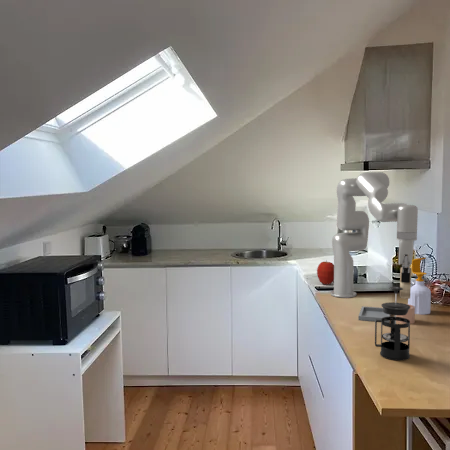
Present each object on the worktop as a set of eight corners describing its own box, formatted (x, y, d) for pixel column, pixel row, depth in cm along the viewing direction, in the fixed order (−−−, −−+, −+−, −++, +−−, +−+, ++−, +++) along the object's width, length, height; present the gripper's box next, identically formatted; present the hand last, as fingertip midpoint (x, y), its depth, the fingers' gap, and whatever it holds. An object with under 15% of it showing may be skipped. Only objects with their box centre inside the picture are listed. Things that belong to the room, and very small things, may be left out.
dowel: (399, 295, 199) (400, 267, 197) (410, 296, 197) (411, 267, 196) (399, 298, 195) (400, 268, 194) (410, 299, 193) (411, 269, 192)
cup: (396, 320, 201) (396, 303, 200) (414, 321, 199) (414, 304, 198) (396, 324, 195) (396, 307, 194) (414, 326, 192) (414, 309, 191)
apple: (316, 285, 267) (316, 260, 266) (318, 282, 277) (318, 257, 276) (335, 286, 264) (335, 261, 263) (336, 282, 274) (336, 258, 273)
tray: (361, 311, 214) (361, 306, 214) (390, 314, 210) (390, 308, 210) (358, 322, 199) (358, 316, 199) (389, 324, 195) (389, 318, 195)
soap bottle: (416, 317, 205) (418, 259, 203) (403, 311, 214) (404, 256, 211) (435, 315, 207) (436, 258, 205) (421, 309, 216) (422, 255, 214)
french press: (409, 351, 165) (410, 284, 163) (414, 361, 156) (416, 291, 154) (373, 349, 167) (374, 283, 165) (376, 359, 158) (377, 290, 156)
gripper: (397, 233, 202) (396, 276, 204) (396, 238, 187) (395, 285, 189) (416, 233, 200) (415, 277, 202) (417, 239, 184) (415, 286, 186)
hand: (405, 280), depth 195 cm, fingers closed on dowel, 4 cm apart
